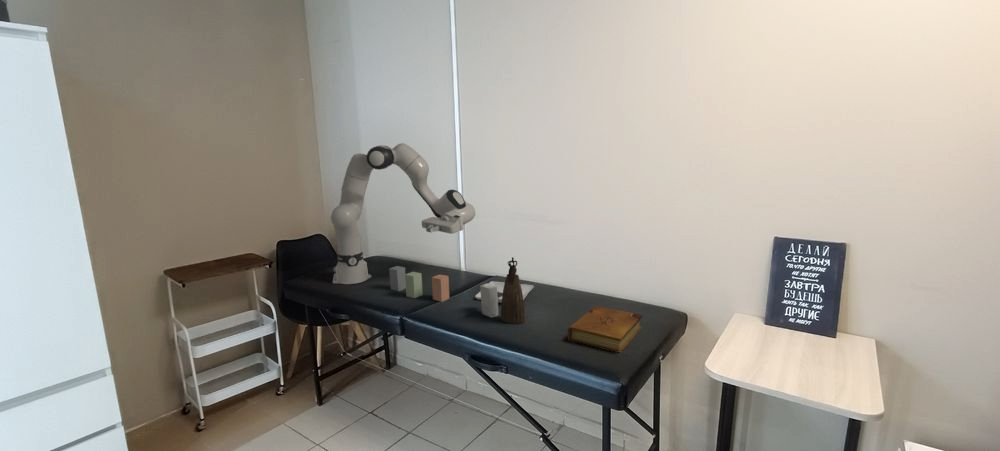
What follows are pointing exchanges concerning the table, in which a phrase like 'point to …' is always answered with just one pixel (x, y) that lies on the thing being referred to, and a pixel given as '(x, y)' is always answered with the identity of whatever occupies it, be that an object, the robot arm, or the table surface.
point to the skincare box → (489, 300)
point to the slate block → (397, 278)
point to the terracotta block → (440, 287)
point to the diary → (605, 328)
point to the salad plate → (500, 287)
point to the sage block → (413, 284)
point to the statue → (512, 298)
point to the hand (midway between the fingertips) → (428, 230)
